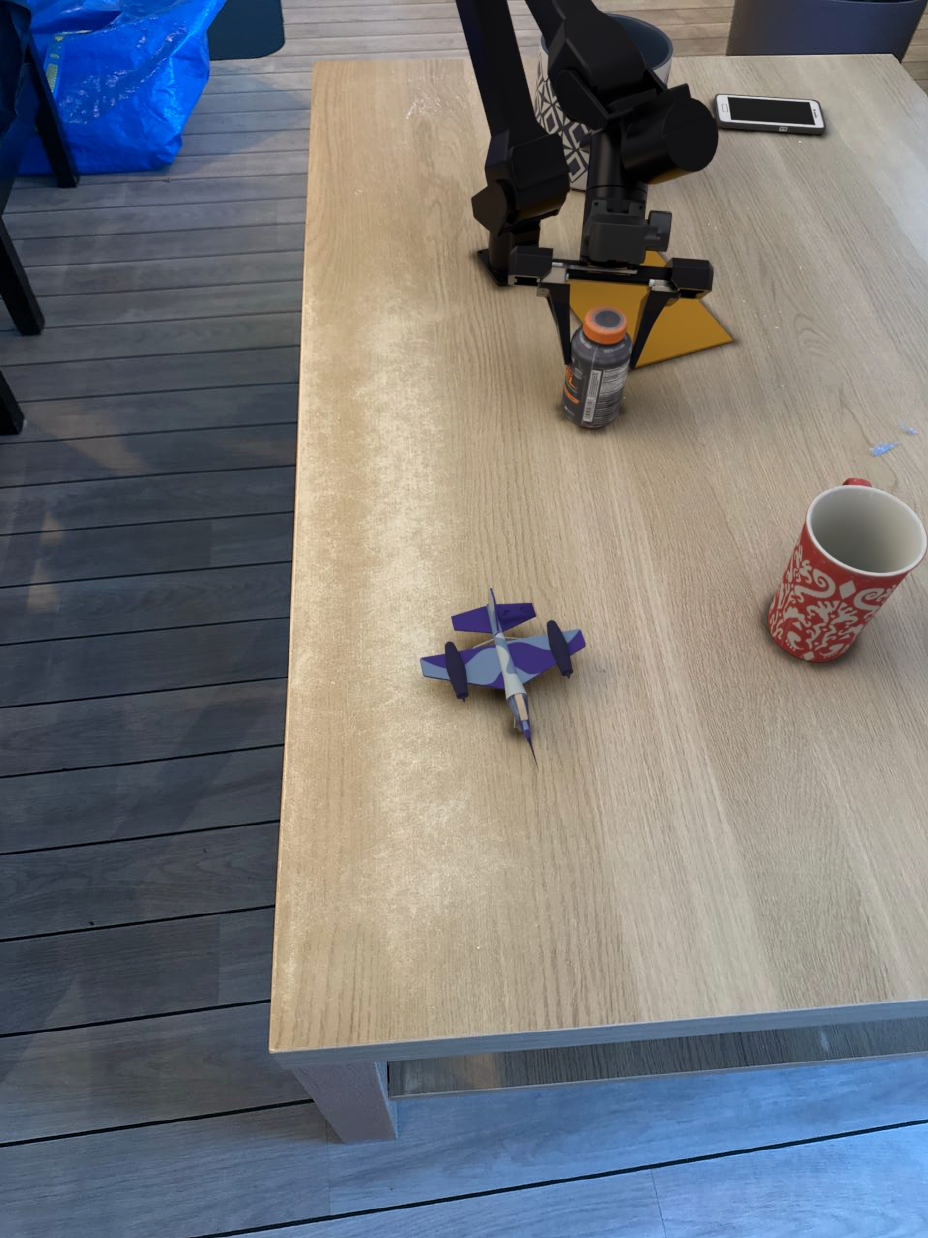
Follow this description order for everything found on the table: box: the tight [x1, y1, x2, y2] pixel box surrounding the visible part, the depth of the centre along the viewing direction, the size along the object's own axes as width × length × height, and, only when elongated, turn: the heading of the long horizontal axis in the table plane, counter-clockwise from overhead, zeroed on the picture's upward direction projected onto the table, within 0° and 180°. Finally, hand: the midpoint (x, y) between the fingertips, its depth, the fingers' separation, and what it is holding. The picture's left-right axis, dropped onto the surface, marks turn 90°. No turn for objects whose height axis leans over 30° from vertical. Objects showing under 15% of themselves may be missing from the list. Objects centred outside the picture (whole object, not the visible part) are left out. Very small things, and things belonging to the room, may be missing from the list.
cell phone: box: [713, 93, 827, 135], centre depth 132 cm, size 8×15×1 cm, turn 86°
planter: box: [533, 12, 675, 191], centre depth 119 cm, size 16×16×14 cm
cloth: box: [567, 251, 733, 371], centre depth 108 cm, size 18×14×1 cm
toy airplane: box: [419, 587, 587, 772], centre depth 77 cm, size 13×14×4 cm
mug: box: [767, 477, 928, 663], centre depth 79 cm, size 13×9×14 cm
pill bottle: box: [560, 306, 633, 428], centre depth 93 cm, size 6×6×11 cm
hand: (598, 367), depth 92 cm, fingers closed on pill bottle, 6 cm apart
